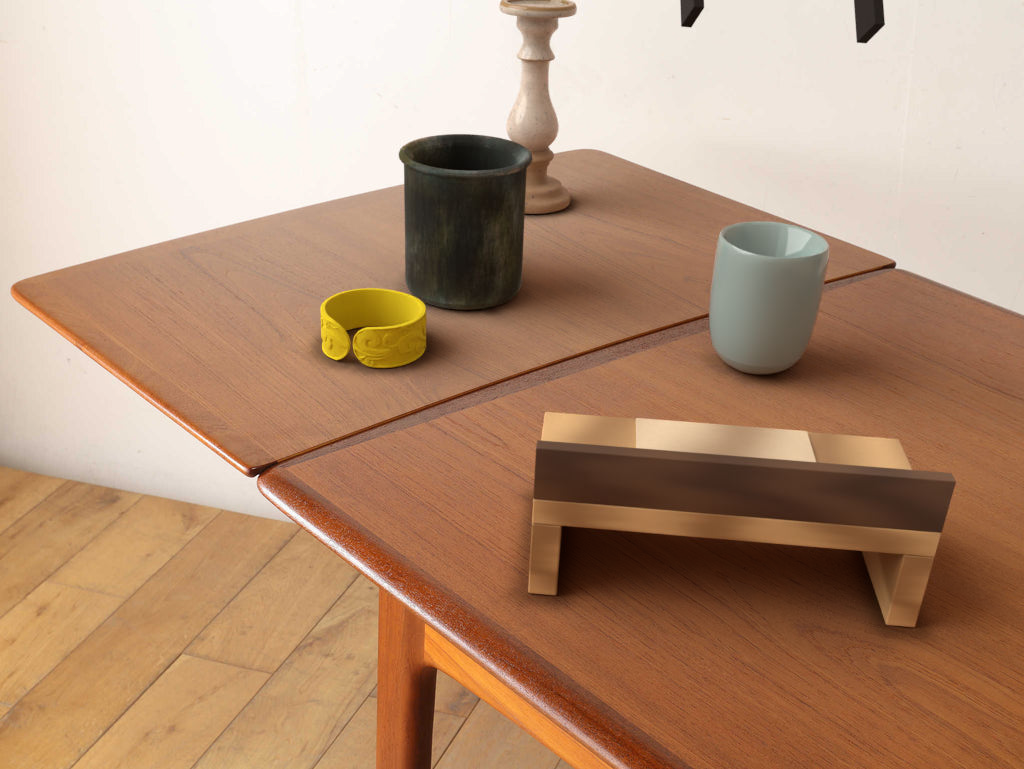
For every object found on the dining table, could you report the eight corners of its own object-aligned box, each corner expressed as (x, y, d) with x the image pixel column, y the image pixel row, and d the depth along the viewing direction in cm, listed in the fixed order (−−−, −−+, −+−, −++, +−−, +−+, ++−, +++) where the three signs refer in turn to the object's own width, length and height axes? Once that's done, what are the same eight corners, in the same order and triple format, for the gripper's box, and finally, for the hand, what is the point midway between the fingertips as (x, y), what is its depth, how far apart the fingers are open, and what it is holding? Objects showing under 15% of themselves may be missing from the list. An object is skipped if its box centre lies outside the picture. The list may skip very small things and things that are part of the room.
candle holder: (540, 184, 118) (550, -7, 108) (586, 207, 111) (601, 6, 102) (472, 195, 113) (476, -3, 104) (516, 220, 107) (525, 10, 97)
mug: (398, 314, 86) (395, 170, 80) (403, 250, 98) (402, 122, 93) (531, 316, 86) (538, 173, 81) (519, 251, 99) (524, 124, 94)
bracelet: (348, 319, 85) (347, 281, 83) (441, 336, 83) (441, 297, 81) (304, 356, 78) (302, 316, 77) (403, 375, 76) (403, 334, 75)
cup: (683, 348, 82) (698, 226, 77) (766, 334, 85) (785, 216, 80) (740, 393, 76) (760, 264, 71) (827, 377, 79) (852, 251, 74)
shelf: (877, 525, 62) (910, 391, 58) (915, 628, 54) (956, 481, 50) (539, 497, 63) (547, 364, 59) (527, 593, 55) (535, 448, 51)
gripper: (895, -178, 85) (914, 64, 81) (596, -217, 81) (601, 37, 77) (948, -249, 78) (971, 13, 74) (623, -295, 74) (629, -20, 70)
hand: (782, 26), depth 76 cm, fingers open, 13 cm apart
